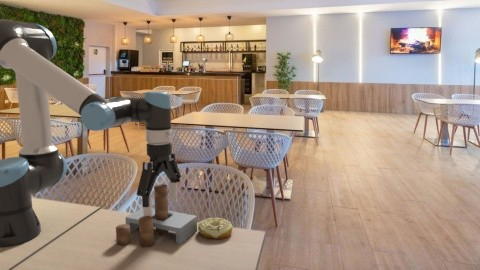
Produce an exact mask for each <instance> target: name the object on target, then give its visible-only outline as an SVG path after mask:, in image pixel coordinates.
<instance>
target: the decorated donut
mask: <svg viewBox="0 0 480 270" xmlns="http://www.w3.org/2000/svg"><path fill="white" fill-rule="evenodd" d="M233 228H234V226H233V225H232V223H231V222H230V221H229V220H227V219H225V218H223V217H208V218H205V219H203V220H201V221H200V222H198V223H197V231H198V232H199V233H200V235H201V236H202V237H203V238H206V239H211V240H212V239H215V240H216V239H217V240H221V239H226V238H229V236H231V234H232V232H233V231H232V230H233Z"/></svg>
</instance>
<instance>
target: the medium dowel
mask: <svg viewBox="0 0 480 270" xmlns="http://www.w3.org/2000/svg"><path fill="white" fill-rule="evenodd" d="M138 229H139V232H138V233H139V245H140V247H142V248H150V247H153V246H154V244H155V236H154V235H155V234H154V227H153V217H151V216H143V217H141V218H139V228H138Z"/></svg>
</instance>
